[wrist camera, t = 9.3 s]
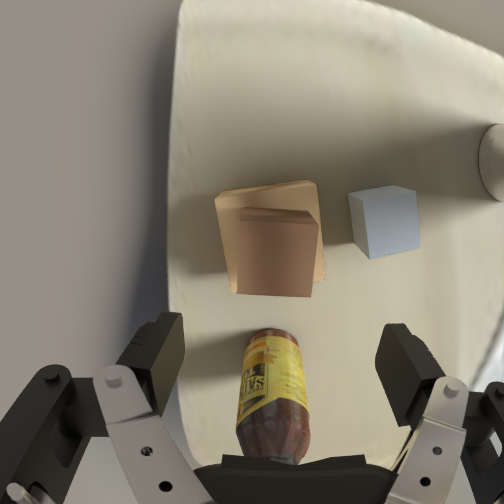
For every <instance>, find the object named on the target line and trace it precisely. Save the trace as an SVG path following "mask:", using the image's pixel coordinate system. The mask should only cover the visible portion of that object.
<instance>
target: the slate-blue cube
mask: <svg viewBox="0 0 504 504" xmlns="http://www.w3.org/2000/svg"><path fill="white" fill-rule="evenodd" d="M347 195H348V202H349V208H350V215H351V222H352V229H353V236H354V243H355V244H356V245H357V246H358V247H359V248H360V249H361V251H362V252H363V253H364V254H365V255H366V256H367V257H368V258H369V259H374V258H379V257H383V256H387V255H392V254H396V253H400V252H405V251H409V250H413V249H418V248H420V229H419V215H418V204H417V194H416V191H413V190H409V189H406V188H403V187H400V186H396V185H390V186H384V187H378V188H372V189H367V190H361V191H356V192H350V193H347Z"/></svg>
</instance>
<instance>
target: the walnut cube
mask: <svg viewBox="0 0 504 504" xmlns="http://www.w3.org/2000/svg"><path fill="white" fill-rule="evenodd" d="M318 231H319V224H318V223H317V222H316V221H315V219H314V218H313V217H312V215H311V214H310V213H309V211H303V210H288V209H271V208H253V207H244V209H243V211H242V214H241V217H240V220H239V240H238V271H237V294H248V295H267V296H288V297H311V291H312V283H313V275H314V267H315V259H316V250H317V241H318Z"/></svg>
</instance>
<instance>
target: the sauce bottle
mask: <svg viewBox="0 0 504 504" xmlns="http://www.w3.org/2000/svg"><path fill="white" fill-rule="evenodd" d="M236 435H237V437H238V440H239V443H240V446H241V449H242V452H243V455H244V456H249V457H260V458H264V459H269V460H273V461H277V462H282V463H286V464H291V465H298V464H299V462H300V460H301V459H302V458H303V457H304V456H305V454H306V451H307V450H308V447H309V442H310V429H309V408H308V400H307V392H306V384H305V376H304V368H303V361H302V354H301V351H300V349H299V346H298V343H297V341H296V339H295V338H294V337H293V336H292V335H291V334H289V333H287V332H286V331H282V330H279V329H268V330H264V331H261V332H259V333H258V334H256V335H255V336H254V337H252V339H250V341H249V343H248V344H247V347H246V351H245V353H244V359H243V368H242V377H241V385H240V395H239V404H238V414H237V423H236Z"/></svg>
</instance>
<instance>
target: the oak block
mask: <svg viewBox="0 0 504 504" xmlns="http://www.w3.org/2000/svg"><path fill="white" fill-rule="evenodd" d="M214 200H215V206H216V211H217V217H218V223H219V228H220V234H221V239H222V245H223V250H224V256H225V261H226V266H227V272H228V277H229V282H230V287H231V292H237V271H238V240H239V220H240V217H241V214H242V211H243V209H244V207H253V208H271V209H288V210H303V211H309V213H310V214H311V215H312V217H313V218H314V219H315V221H316V222H317V223H318V224H319V231H318V241H317V250H316V259H315V267H314V275H313V282H316V281H323V280H325V269H324V255H323V243H322V232H321V221H320V211H319V202H318V192H317V185H316V184H314V183H313V182H311V181H309V180H302V181H294V182H286V183H278V184H270V185H263V186H256V187H249V188H242V189H235V190H229V191H223V192H221V193H220V194H219V195H218V196H217V197H216V198H215V199H214Z"/></svg>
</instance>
